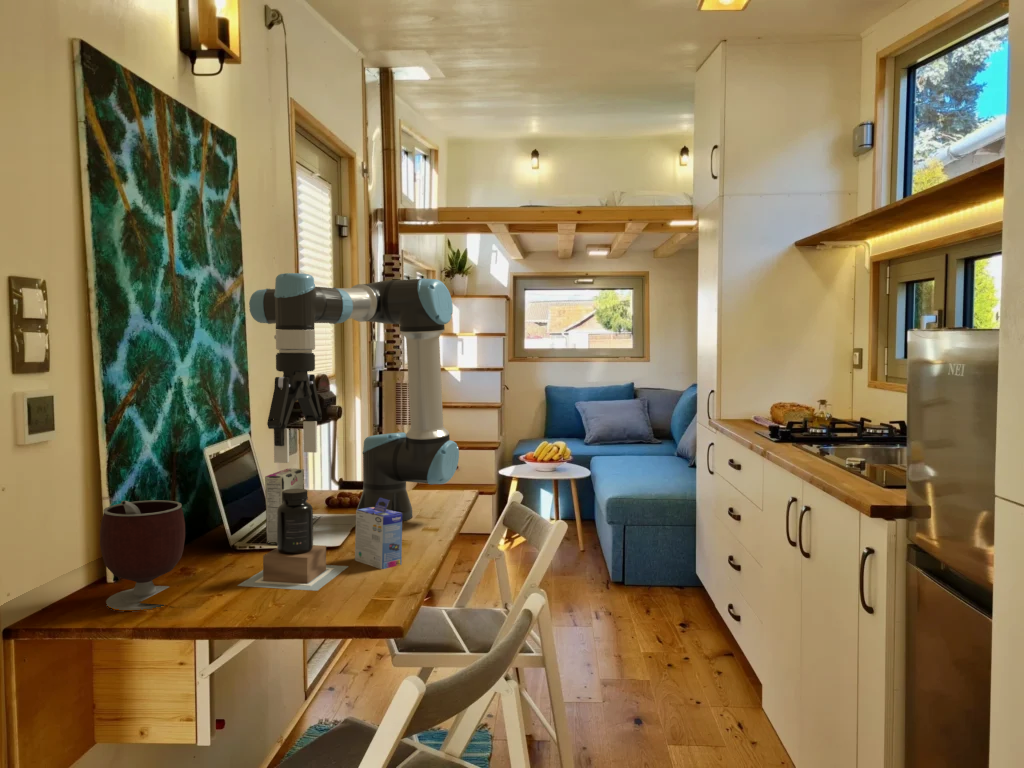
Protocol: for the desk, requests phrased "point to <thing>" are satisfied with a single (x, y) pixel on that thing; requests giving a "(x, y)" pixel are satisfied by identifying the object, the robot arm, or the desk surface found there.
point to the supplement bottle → (294, 523)
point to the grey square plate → (312, 585)
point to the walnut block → (294, 566)
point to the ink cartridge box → (378, 536)
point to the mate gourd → (141, 547)
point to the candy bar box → (279, 495)
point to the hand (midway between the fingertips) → (296, 457)
